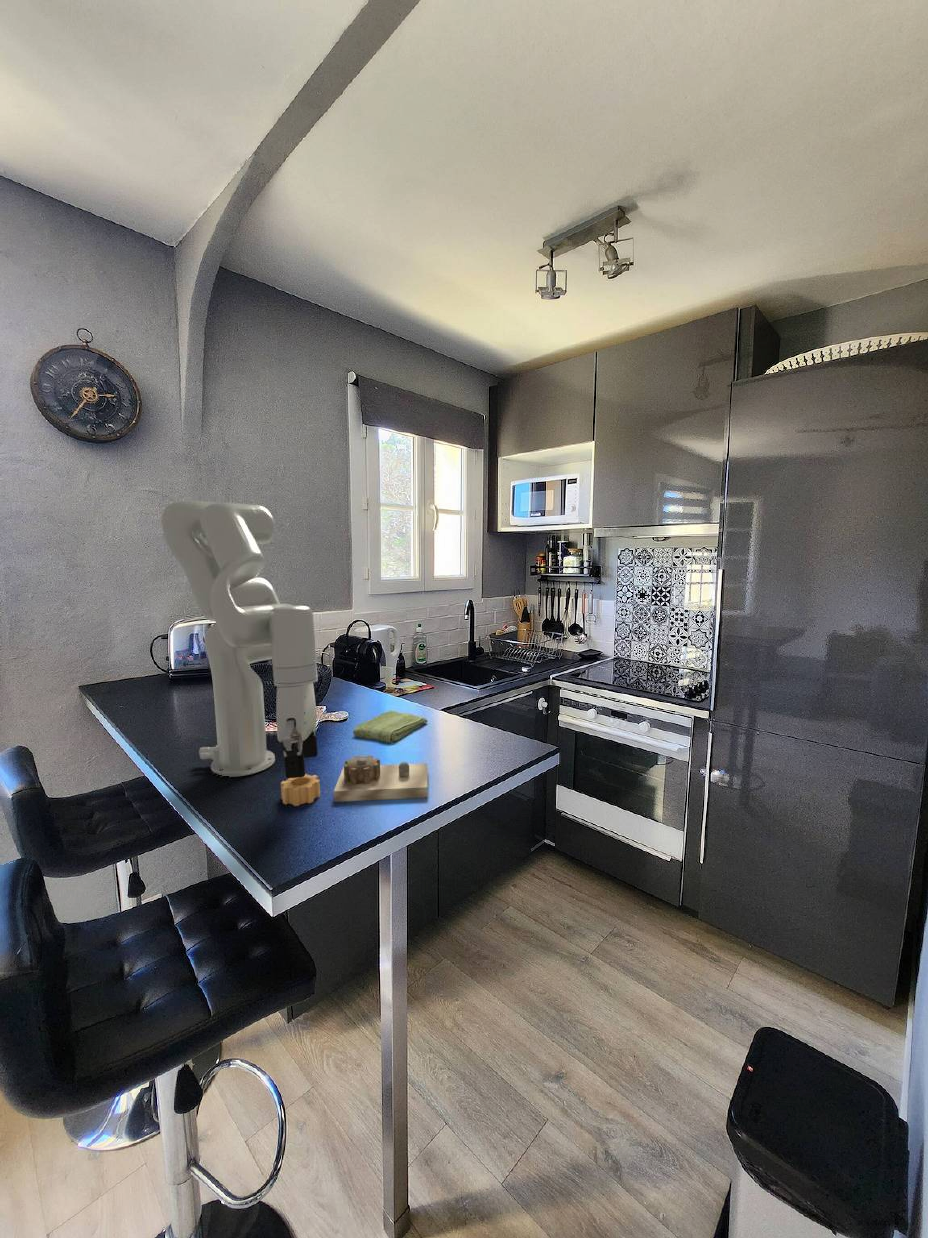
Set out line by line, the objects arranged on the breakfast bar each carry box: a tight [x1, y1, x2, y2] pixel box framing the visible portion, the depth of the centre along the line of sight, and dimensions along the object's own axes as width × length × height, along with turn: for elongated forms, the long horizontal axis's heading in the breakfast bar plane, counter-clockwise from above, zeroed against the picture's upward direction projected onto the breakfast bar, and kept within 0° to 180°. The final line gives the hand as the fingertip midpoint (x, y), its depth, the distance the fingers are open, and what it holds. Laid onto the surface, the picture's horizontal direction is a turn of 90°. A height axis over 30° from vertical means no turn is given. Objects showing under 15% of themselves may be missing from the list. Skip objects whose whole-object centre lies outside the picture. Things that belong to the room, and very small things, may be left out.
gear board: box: [333, 755, 429, 803], centre depth 97 cm, size 17×11×6 cm, turn 94°
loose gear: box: [280, 773, 321, 807], centre depth 93 cm, size 7×7×3 cm
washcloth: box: [352, 710, 429, 744], centre depth 130 cm, size 13×18×3 cm
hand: (302, 766), depth 92 cm, fingers open, 9 cm apart
